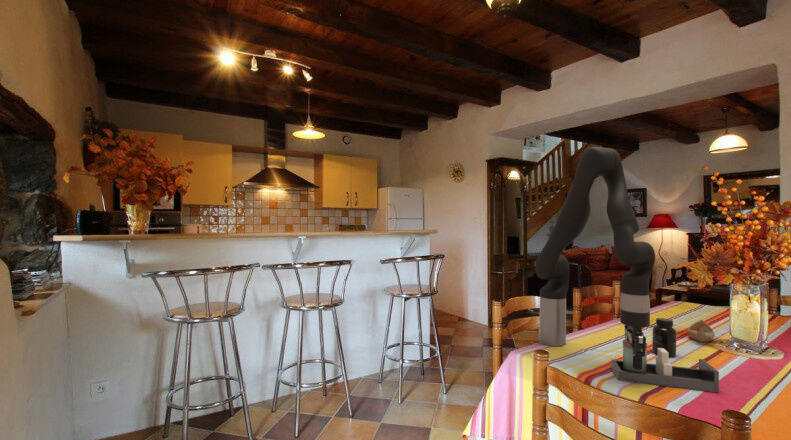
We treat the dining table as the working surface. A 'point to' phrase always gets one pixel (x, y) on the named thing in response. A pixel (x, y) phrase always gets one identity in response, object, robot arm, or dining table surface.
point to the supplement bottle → (664, 336)
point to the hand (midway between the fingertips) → (634, 364)
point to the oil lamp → (701, 331)
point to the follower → (663, 363)
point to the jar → (629, 358)
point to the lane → (673, 376)
